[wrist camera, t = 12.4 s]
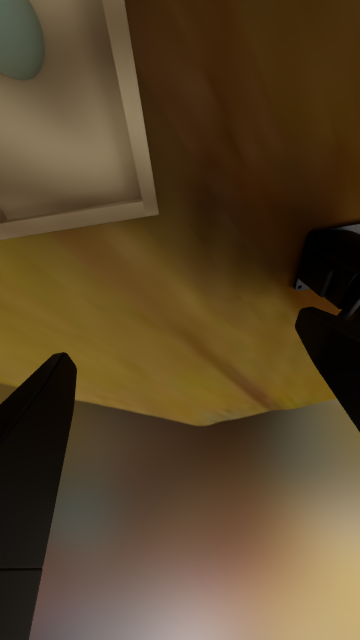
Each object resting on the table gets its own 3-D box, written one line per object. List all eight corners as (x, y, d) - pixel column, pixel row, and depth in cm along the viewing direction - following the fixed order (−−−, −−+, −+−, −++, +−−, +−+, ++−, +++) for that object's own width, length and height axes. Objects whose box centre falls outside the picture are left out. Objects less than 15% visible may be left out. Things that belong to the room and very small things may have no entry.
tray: (-508, -582, 5) (-778, -888, 3) (27, -583, 5) (-15, -851, 4) (6, 233, 16) (-7, 240, 15) (157, 209, 17) (159, 214, 15)
